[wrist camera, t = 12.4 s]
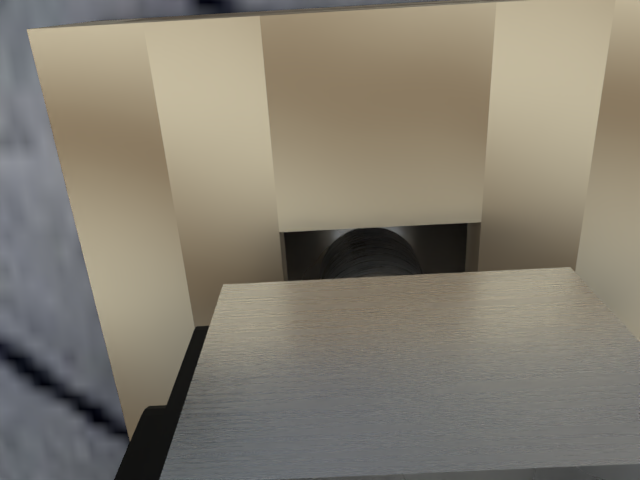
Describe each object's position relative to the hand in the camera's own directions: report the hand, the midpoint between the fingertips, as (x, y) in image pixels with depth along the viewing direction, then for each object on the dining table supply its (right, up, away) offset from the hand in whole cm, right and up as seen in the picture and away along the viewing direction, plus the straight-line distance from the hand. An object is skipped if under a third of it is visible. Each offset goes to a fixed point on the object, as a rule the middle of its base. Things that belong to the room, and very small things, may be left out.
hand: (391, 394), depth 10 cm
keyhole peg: (0, +2, +5) cm, 6 cm away
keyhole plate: (0, -2, +7) cm, 8 cm away
